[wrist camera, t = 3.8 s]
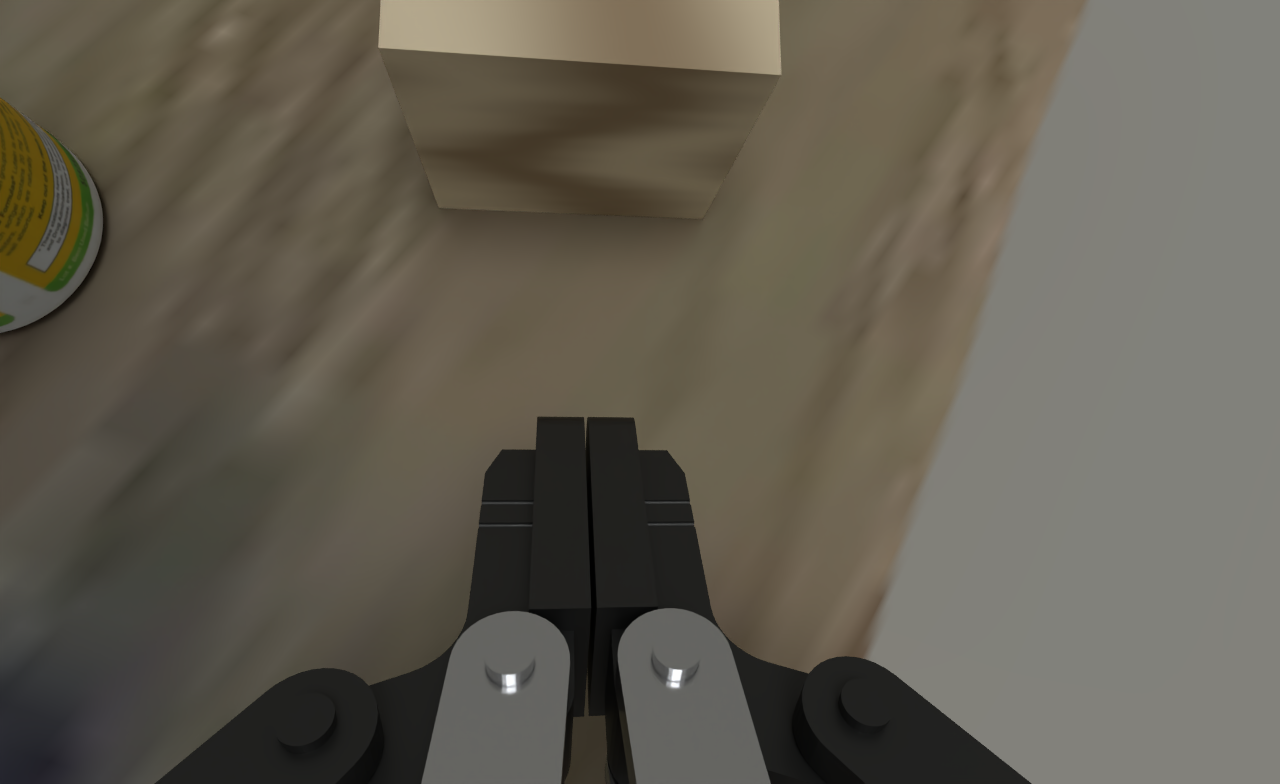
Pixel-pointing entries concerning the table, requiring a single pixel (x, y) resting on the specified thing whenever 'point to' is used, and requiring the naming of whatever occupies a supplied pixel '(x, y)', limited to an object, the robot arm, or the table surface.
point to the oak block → (580, 99)
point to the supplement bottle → (42, 221)
